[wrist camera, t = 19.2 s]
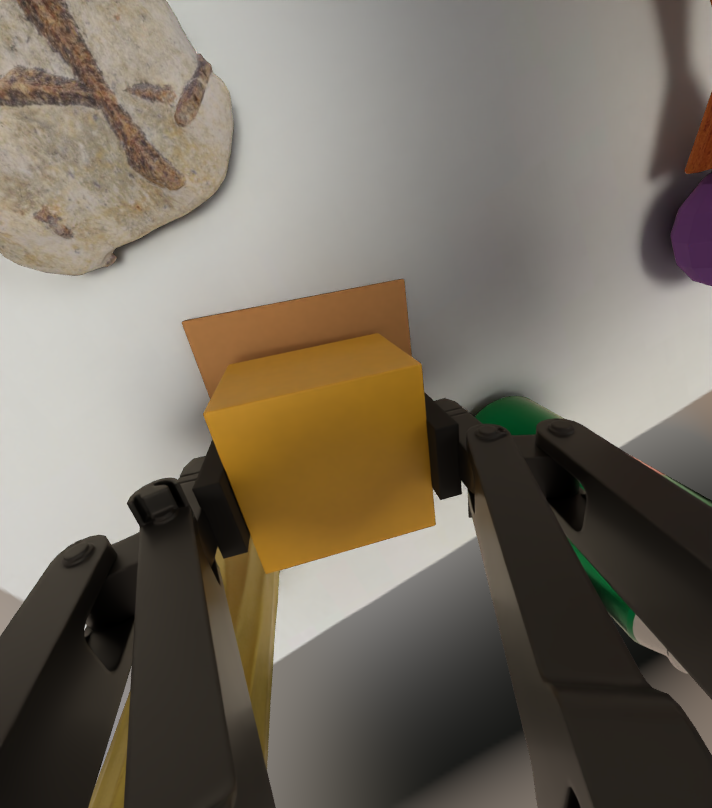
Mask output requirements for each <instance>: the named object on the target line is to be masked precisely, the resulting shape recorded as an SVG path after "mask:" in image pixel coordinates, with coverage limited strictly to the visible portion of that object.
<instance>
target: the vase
mask: <svg viewBox="0 0 712 808" xmlns="http://www.w3.org/2000/svg"><path fill="white" fill-rule="evenodd" d="M215 559H216V562H217V564H218V566H219V568H220V572H221V576H222V581H223V585H224V589H225V594H226V598H227V602H228V606H229V611H230V615H231V619H232V623H233V628H234V632H235V636H236V641H237V645H238V649H239V653H240V658H241V662H242V666H243V671H244V675H245V679H246V683H247V688H248V692H249V696H250V700H251V705H252V709H253V713H254V718H255V722H256V726H257V730H258V735H259V739H260V743H261V748H262V752H263V756H264V760H265V765H266V769H267V757H268V738H269V719H270V700H271V686H272V671H273V655H274V638H275V625H276V615H277V603H278V586H279V572H280V570H279V571H276V572H272V573H269V574H265V571H264V569H263V566H262V564H261V561H260V559H259V556H258V553H257V551H256V548H255V546H254V543H253V541H252V538H251V536H250V539H249V547H248V552H247V553H243V554H240V555H236V556H232V557H229V558H225V559H223V557H222V554H221V552H220V550H219V548H218V547H217V551H216V555H215ZM129 706H130V693H129V696H128V698H127V701H126V704H125V706H124V709H123V712H122V715H121V717H120V720H119V723H118V726H117V728H116V731H115V734H114V737H113V740H112V742H111V746H110V748H109V751H108V753H107V756H106V759H105V761H104V764H103V766H102V769H101V772H100V774H99V777H98V780H97V782H96V785H95V788H94V791H93V794H92V797H91V800H90V803H89V807H88V808H124V792H125V775H126V758H127V740H128V723H129Z"/></svg>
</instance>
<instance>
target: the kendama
mask: <svg viewBox="0 0 712 808" xmlns="http://www.w3.org/2000/svg"><path fill="white" fill-rule="evenodd" d="M710 2H711V5H712V0H710ZM709 169H712V92H711V95H710V98H709V101H708V104H707V107H706V110H705V113H704V116H703V119H702V121H701V124H700V127H699V130H698V133H697V136H696V139H695V142H694V145H693V147H692V150H691V153H690V156H689V159H688V162H687V165H686V168H685V173H686V174H691V173H699V172H702V171H706V170H709ZM670 236H671V241H672V246H673V251H674V256H675V260H676V264H677V265H678V266H679V267H680V268H681V269H682V270H683V271H684V272H685V273H686V274H687V275H688V276H689V277H690V278H691V279H692V280H693V281H696V282H699V283H703V284H706V285H710V286H712V172H711V173H710V174H708V175H707V176H706V177H705V178H704V179H703V180H702V181H701V182H700V183H699V184H698V185H697V186H696V188H695V189H694V190H693V191H692V193H691V194H690V195H689V197H688V198H687V199H686V200H685V202H684V203H683V204H682V205H681V207H680V208H679V209H678V212H677V215H676V218H675V222H674V225H673V228H672V231H671V234H670Z"/></svg>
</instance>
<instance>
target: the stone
mask: <svg viewBox="0 0 712 808" xmlns="http://www.w3.org/2000/svg"><path fill="white" fill-rule="evenodd" d="M233 128H234V122H233V116H232V105H231V98H230V93H229V91H228V89H227V87H226V86H225V84H224V82H223V81H222V80H221V79H220V78H219V77H218V76H216V75H215V74H214V73H213V71H212V67H211V64H209V63H208V62H207V61H206V60H205V59H204V58H203V56H202V55H201V54H197V53H196V51H195V49H194V48H193V46H192V45H191V43H190V42H189V40H188V38H187V37H186V35H185V33H184V31H183V30H182V28H181V26H180V23H179V21H178V19H177V17H176V16H175V14H174V12H173V11H172V9H171V7H170V6H169V4H168V2H167V1H166V0H0V253H1V254H2V255H3V256H4V257H5V258H7V259H9V260H11V261H13V262H15V263H17V264H18V265H21V266H24V267H28V268H32V269H35V270H39V271H42V272H46V273H54V274H63V275H73V276H76V275H82V274H84V273H87V272H90V271H92V270H95V269H98V268H100V267H108V266H110V265H112V264H113V263H114V262H115V260H116V258H117V257H116V256H115V255H114V254H113V253H112V252H114V250H115V248H118V247H121V246H122V245H125V244H128V243H130V242H133V241H135V240H137V239H139V238H141V237H143V236H144V235H146V234H147V233H149V232H151V231H152V230H154V229H156V228H158V227H160V226H162V225H164V224H167V223H169V222H171V221H173V220H176V219H178V218H180V217H182V216H184V215H186V214H188V213H189V212H190V211H192V210H193V209H195V208H196V207H198V206H199V205H201V204H202V203H204V202H205V201H206V200H208V199H209V198H210V197H211V196H212V195H213V194H215V192H216V191H217V190H218V188H219V187H220V185H221V183H222V182H223V180H224V179H225V177H226V173H227V169H228V163H229V158H230V153H231V140H232V135H233Z"/></svg>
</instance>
